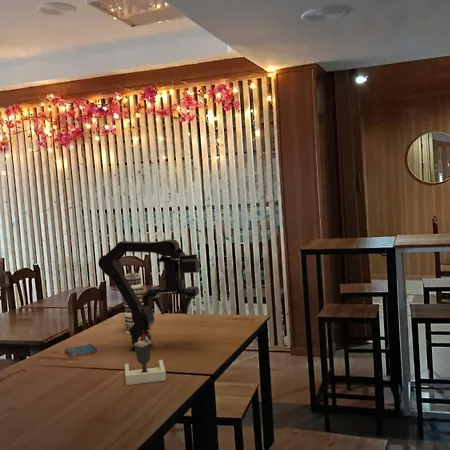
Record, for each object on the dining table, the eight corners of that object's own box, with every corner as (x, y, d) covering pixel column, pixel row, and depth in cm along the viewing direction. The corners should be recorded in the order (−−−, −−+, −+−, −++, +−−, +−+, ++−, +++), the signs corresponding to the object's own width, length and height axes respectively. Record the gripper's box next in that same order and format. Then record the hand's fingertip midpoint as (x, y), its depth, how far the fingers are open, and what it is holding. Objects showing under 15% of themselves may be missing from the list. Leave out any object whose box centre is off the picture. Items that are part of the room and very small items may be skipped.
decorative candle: (150, 329, 246) (146, 271, 245) (138, 334, 238) (134, 275, 236) (133, 328, 250) (129, 271, 248) (120, 333, 242) (116, 275, 240)
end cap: (125, 372, 189) (124, 364, 189) (162, 368, 191) (162, 359, 191) (126, 385, 177) (125, 375, 177) (166, 380, 179) (165, 371, 179)
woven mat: (63, 353, 218) (63, 348, 218) (91, 348, 223) (90, 343, 223) (70, 360, 209) (69, 354, 209) (98, 354, 214) (98, 349, 214)
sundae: (145, 379, 180) (142, 332, 179) (130, 376, 184) (126, 330, 182) (159, 373, 185) (156, 327, 184) (144, 370, 189) (141, 325, 188)
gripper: (201, 269, 218) (204, 309, 219) (155, 270, 222) (157, 310, 223) (193, 274, 207) (196, 316, 208) (145, 275, 211) (148, 316, 212)
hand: (174, 314), depth 213 cm, fingers open, 9 cm apart
